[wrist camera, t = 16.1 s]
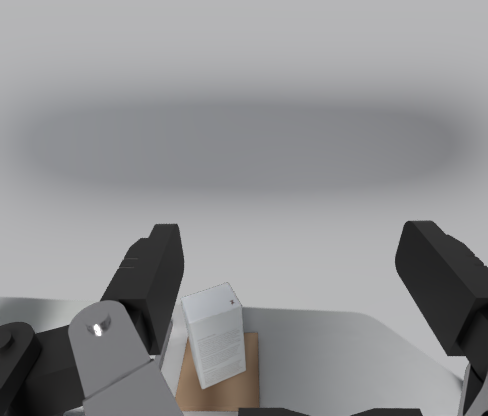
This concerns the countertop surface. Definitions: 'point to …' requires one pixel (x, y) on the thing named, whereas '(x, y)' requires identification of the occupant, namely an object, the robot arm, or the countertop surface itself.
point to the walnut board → (220, 384)
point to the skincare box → (215, 333)
